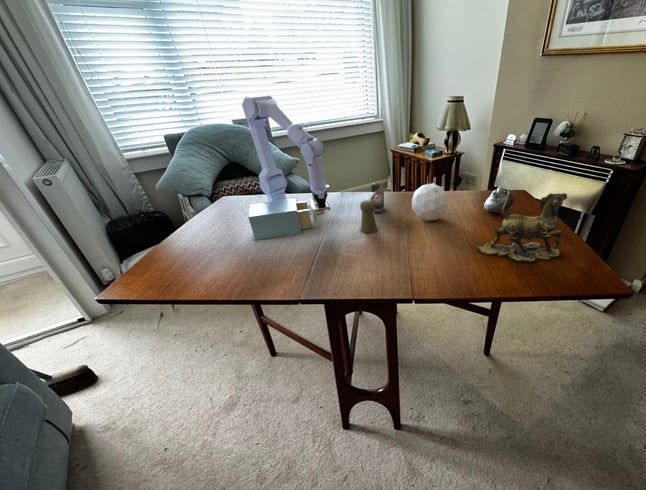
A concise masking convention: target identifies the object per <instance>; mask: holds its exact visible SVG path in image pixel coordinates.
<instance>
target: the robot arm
mask: <svg viewBox="0 0 646 490" xmlns="http://www.w3.org/2000/svg"><path fill="white" fill-rule="evenodd" d="M241 107H242V111H243V113H244V116H245V120H246V122H247V125H248V128H249V131H250V134H251V138H252V140H253V145H254V147H255V150H256V154H257V156H258V160H259V163H260V167H261V172H260V173H259V174H258V180H259V187H260V190H261V191H262V192H263V194H265V195H266V197H267V200H268V201H267V202H273V201H280V200H287V196H286V192H285V191H287V189H286V188H287V186H288V181H287V178H286V176H285V175H284V172H283V170H282V169H280V168H278V167H277V165H276V162H275V161H276V160H275V158H274V154H273V151H272V148H271V144H270V140H269V137H268V134H267V131H266V127H265V123H266V121H267V120H268V119H269V118H270V119H271V120H273V121H274V122H275V123H276V124H277V125H278V126H280V127H281V128H282V129H283V130H284V131H286V134H287V138H288V139H289V140H291V141H292V143H294V144H295V145H296V146H297V147H298V148H299V149H300V153H301V155H302V157H303V159H304V163H305V164H306V167H307V173H308V179H309V184H310V185H309V186H310V188H309V189H310V191H311V195H312V198H313V197H314V199H315V200H316V202H317V205H318V208H319V209H320V208H326V206H325V205H326V201H327V198H328V195H329V194H328V191H327V190H329V189H331V187H330V185H329V184H327V182H326V174H325V167H324V160H323V155H324V153H325V145H324V143H323V141H322V140H321V139H320V138H318V137H314V136H312V135H311V134H309V133H308V132H307V131H306V130H305V129H304V128H303V125H302V124H299V123H293V122H292V120H291V119H290V118H289V117H288V116H287V115H286V114H285V113H284V112H283V111H282V109H280V107H279V106H278V102H277V100H275V99H274V98H273V96H272V95H270V94H262V95H261V94H260V95H252V96H245V97H244V99H243V101H242V102H241ZM320 211H323V212H324V211H326V210H320Z"/></svg>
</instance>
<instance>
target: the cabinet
mask: <svg viewBox="0 0 646 490" xmlns="http://www.w3.org/2000/svg"><path fill="white" fill-rule="evenodd" d="M296 202H297V201H296V198H288V199H286V200H280V201H273V202H269V201H266V202H259V203H251V204H250V205H249V211H248V215H247V217H248V220H249V224H250V227H251V230H252V234H253V237H254V240H255V241H259V240H265V239H271V238H279V237H285V236H291V235H297V234H302V228H300V223H299V218H298V213H297V208H296Z"/></svg>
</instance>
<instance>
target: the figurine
mask: <svg viewBox="0 0 646 490" xmlns="http://www.w3.org/2000/svg"><path fill="white" fill-rule="evenodd" d="M508 192H509V193H508V194H507V197H506V201H505V203H504V205H503V208H502V210H501V212H502V213H501V214H502V216H503V217H504V219H503V220H502V226H501V227H500V228H499V227H496V228H495V229H494V233H495V237H494V239H493V240H491V241H490V242H487V243H484V244H483V245H482V246H481V245H479V246H478V247H477V251H479V252H480V253H481V254H484V255H487V256H499V257H503V258H509V259H511V260H513V261H514V262H517V263H527V264H531V263H532V264H533V263H534V262H536V260H542V261H551V258H552V259H555V258H559V257H560V256H561V251H560V250H559V249H558V247H559V245H560V243H561V242H562V231H561V230H560V229H556V228H557V226H558V225H557V224H558V217H557V214H558V211H559V209H560V208H561V206H562V205H563V204H564V201H566V200H567V199H568V194H567V193H565V192H563V193H549V194H547V195H546V196H544V197H541V199H539V200H540V201H539V207H540V210H541V211H542V213H541V214H540V215H539V216H538V215H535V216H528V215H527V216H526V215H522V214H511V215H510V214H509V209H510V208H511V207H512V205H514V203H515V196H514V195H513V193H512V191H510V190H509V191H508ZM504 235H508V241H511V242H513V243H512V244H510V245H507V244H500V243H499V244H498V242H499V241H500V240H501V239H500V238H501V236H504ZM553 237H556V240H555V243H553V244H552V247H551V243H550V242H549V239H551V238H553ZM535 239H540V240H543V242H544V245H545V247H542V244H541V243H540V242H537V241H532V242H529V243H524V244H523V243H522V241H521V240H527V241H531V240H535Z"/></svg>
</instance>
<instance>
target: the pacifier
mask: <svg viewBox="0 0 646 490" xmlns="http://www.w3.org/2000/svg"><path fill="white" fill-rule="evenodd" d="M311 199H313V202H314V204H315V203H317V202H316V200H315V199H314V197H313V196H312V198H311ZM307 206H308V209H309V213H310V215H312V210H311V204H309V205H307ZM315 208H316V209H319V208H318V205H315ZM316 213H317V215H319V214H323V213H324V211H316Z"/></svg>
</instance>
